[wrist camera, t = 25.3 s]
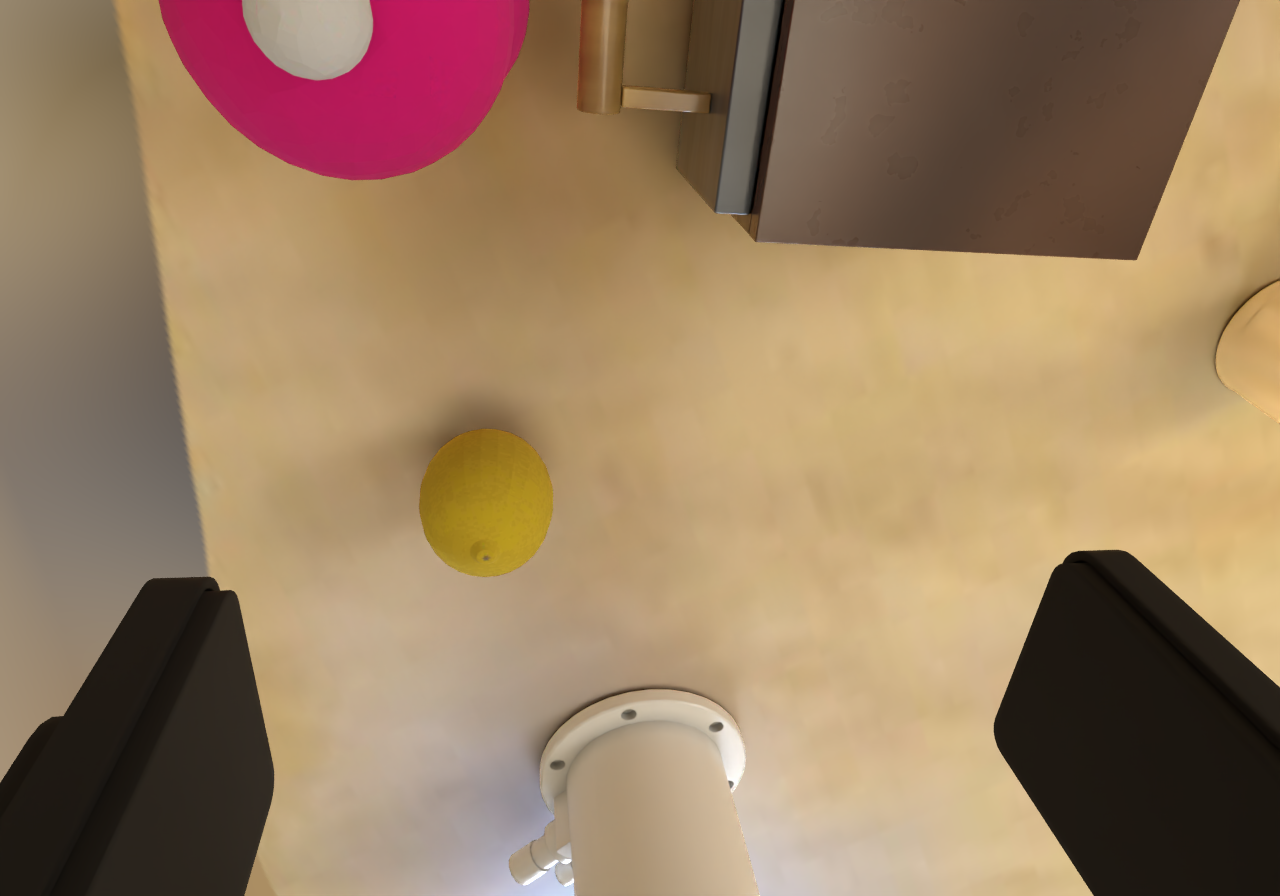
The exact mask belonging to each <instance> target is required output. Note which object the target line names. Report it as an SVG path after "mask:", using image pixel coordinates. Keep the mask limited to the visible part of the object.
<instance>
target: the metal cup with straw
mask: <svg viewBox="0 0 1280 896" xmlns="http://www.w3.org/2000/svg"><path fill="white" fill-rule="evenodd" d="M1216 370H1217V374H1218V376H1219V378H1220V380H1221V382H1222V383H1223V384H1224V385H1225V386H1226V387H1227V388H1229V389H1230V390H1232V391H1234V392H1236V393H1238V394H1239V395H1240V396H1241V397H1243V398H1244V399H1245V400H1247V401H1248V402H1249V403H1251V404H1252V405H1254V406H1255V407H1256V408H1258V409H1259V410H1261V411H1262V412H1263V413H1265V414H1266V415H1267V416H1269V417H1270V418H1272V419H1273V420H1274V421H1276V422H1277V423H1279V424H1280V281H1277V282H1275V283H1273V284H1271V285H1269V286H1268V287H1266V288H1264V289H1263V290H1261V291H1260V292H1258V293H1257V294H1256V295H1254V296H1253V297H1252V298H1251V299H1249V300H1248V301H1247V302H1246V303H1245V304H1244V305H1243V306H1242V307H1241V308H1240V309H1239V310H1238V312H1237V313H1236V314H1235V315H1234V316H1233V318H1232V319H1231V321H1230V322H1229V324H1228V325H1227V327H1226V328H1225V330H1224V332H1223V334H1222V336H1221V339H1220V341H1219V344H1218V348H1217V352H1216Z"/></svg>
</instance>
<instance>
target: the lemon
mask: <svg viewBox="0 0 1280 896" xmlns="http://www.w3.org/2000/svg"><path fill="white" fill-rule="evenodd" d="M419 510H420V517H421V521H422V525H423V529H424V533H425V536H426V538H427V540H428V542H429V543H430V545H431V547H432V548H433V550H434V552H435V553H436V555H438V556H439V557H440V558H441V559H442V560H443V561H444V562H445V563H446V564H447V565H449V566H450V567H452V568H454V569H455V570H457V571H459V572H462V573H465V574H468V575H471V576H480V577H490V576H499V575H502V574H505V573H509V572H511V571H513V570H515V569H517V568H518V567H520V566H522V565H523V564H524V563H526V562H527V561H528V560H529V559H530V558H531V557H532V556H534V554H535V553H536V551H537V550H538V548H539V547H540V545H541V544H542V542H543V541H544V539H545V536H546V533H547V530H548V527H549V524H550V521H551V517H552V511H553V488H552V484H551V481H550V477H549V474H548V471H547V468H546V466H545V464H544V463H543V461H542V459H541V458H540V456H539V455H538V453H537V452H536V450H534V449H533V448H532V447H531V446H530V445H529V444H528V443H527V442H526V441H524V440H523V439H521V438H519V437H518V436H516V435H514V434H512V433H509V432H505V431H501V430H498V429H478V430H473V431H468V432H466V433H463V434H461V435H459V436H456V437H455V438H453V439H452V440H451V441H449V442H448V443H447V444H445V445H444V446H443V447H441V449H440V450H439V451H438V452H437V454H436V455H435V456H434V458H433V459H432V460H431V461H430V463H429V465H428V468H427V470H426V473H425V475H424V478H423V481H422V484H421V489H420V503H419Z"/></svg>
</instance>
